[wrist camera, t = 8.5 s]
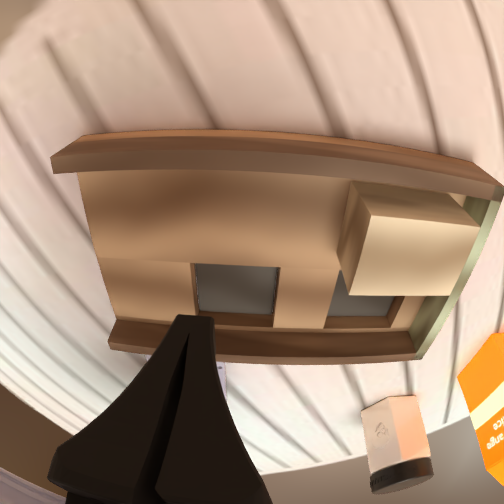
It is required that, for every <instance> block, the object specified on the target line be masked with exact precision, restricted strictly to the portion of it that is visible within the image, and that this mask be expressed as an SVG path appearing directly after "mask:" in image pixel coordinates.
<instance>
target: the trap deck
mask: <svg viewBox="0 0 504 504" xmlns="http://www.w3.org/2000/svg"><path fill="white" fill-rule="evenodd" d="M50 159H51V164H52V169H53V174H59V173H74V172H77V175H78V180H79V185H80V190H81V195H82V200H83V204H84V209H85V213H86V217H87V222H88V226H89V230H90V234H91V238H92V241H93V245H94V249H95V252H96V256H97V260H98V263H99V267H100V270H101V273H102V277H103V280H104V283H105V286H106V289H107V292H108V295H109V299H110V302H111V304H112V307H113V310H114V313H115V316H116V319H117V320H116V322H115V324H114V327H113V329H112V332H111V334H110V337H109V339H108V344H109V346H110V349H112V350H118V351H125V352H131V353H139V354H146V355H152V354H153V353H154V351H155V350H156V348H157V347H158V345H159V344H160V342H161V341H162V339H163V338H164V336H165V334H166V333H167V331H168V329H169V328H170V326H171V324H172V322H173V321H174V319H175V317H176V316H177V315H178V314H184V315H197V316H210V317H212V318H214V322H215V341H216V357H215V358H216V362H230V363H249V364H277V365H337V364H365V363H383V362H397V361H409V360H420V359H422V358H423V356H424V355H425V353H426V352H427V350H428V349H429V347H430V346H431V344H432V342H433V341H434V339H435V338H436V336H437V334H438V333H439V331H440V330H441V328H442V326H443V325H444V323H445V321H446V319H447V318H448V316H449V314H450V312H451V311H452V309H453V307H454V305H455V304H456V302H457V300H458V298H459V296H460V294H461V292H462V291H463V289H464V287H465V285H466V283H467V281H468V279H469V277H470V275H471V273H472V271H473V269H474V267H475V264H476V262H477V260H478V258H479V256H480V254H481V251H482V249H483V247H484V245H485V242H486V240H487V238H488V235H489V233H490V230H491V228H492V225H493V223H494V220H495V218H496V215H497V213H498V210H499V207H500V204H501V202H502V199H503V196H504V186H503V185H502V184H501V183H499V182H498V181H497V180H496V179H494V178H493V177H492V176H490V175H489V174H488V173H487V172H485V171H484V170H483V169H481V168H480V167H479V166H477V165H476V164H474V163H472V162H468V161H464V160H460V159H456V158H452V157H447V156H443V155H439V154H434V153H429V152H424V151H419V150H414V149H409V148H404V147H398V146H392V145H386V144H380V143H374V142H367V141H360V140H353V139H345V138H337V137H328V136H319V135H309V134H297V133H285V132H269V131H250V130H212V129H189V130H152V131H132V132H118V133H105V134H95V135H85V136H82V137H81V138H79V139H77V140H76V141H74V142H73V143H71V144H69V145H68V146H66V147H65V148H63V149H62V150H60V151H59V152H57V153H56V154H54V155H53V156H51V157H50ZM351 181H353V182H362V183H371V184H380V185H388V186H395V187H403V188H410V189H417V190H424V191H430V192H437V193H443V194H449V195H450V196H451V197H452V198H453V199H454V200H455V201H456V202H457V203H458V204H459V205H460V206H461V207H462V208H463V209H464V210H465V211H466V212H467V213H468V214H469V215H470V216H471V217H472V218H473V219H474V221H475V222H476V223H477V224H478V225H479V226H480V227H481V228H480V230H479V233H478V235H477V238H476V240H475V242H474V245H473V247H472V249H471V252H470V254H469V256H468V259H467V261H466V263H465V265H464V267H463V269H462V272H461V274H460V276H459V278H458V280H457V282H456V284H455V286H454V288H453V290H452V292H451V294H450V296H367V295H349V294H348V290H347V287H346V283H345V280H344V277H343V273H342V270H341V267H340V263H339V260H338V257H337V254H336V252H337V247H338V243H339V238H340V234H341V229H342V225H343V220H344V215H345V210H346V205H347V200H348V195H349V190H350V185H351ZM195 263H196V271H195ZM277 267H278V274H277V282H276V273H277ZM196 275H197V283H196ZM275 282H276V291H275V299H274V290H275ZM197 286H198V293H197ZM198 297H199V304H198ZM273 299H274V307H273ZM199 307H200V310H199ZM272 307H273V314H272Z"/></svg>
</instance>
